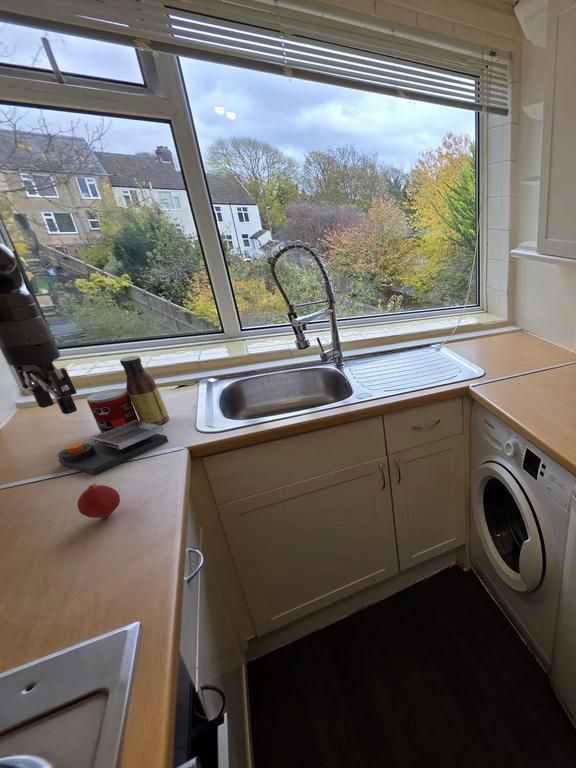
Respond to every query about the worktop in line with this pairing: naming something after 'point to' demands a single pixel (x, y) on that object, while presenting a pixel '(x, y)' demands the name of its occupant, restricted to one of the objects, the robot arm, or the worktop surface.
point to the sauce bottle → (143, 392)
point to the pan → (127, 434)
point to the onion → (98, 501)
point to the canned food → (111, 408)
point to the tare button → (74, 448)
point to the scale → (107, 455)
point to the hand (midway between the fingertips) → (58, 409)
